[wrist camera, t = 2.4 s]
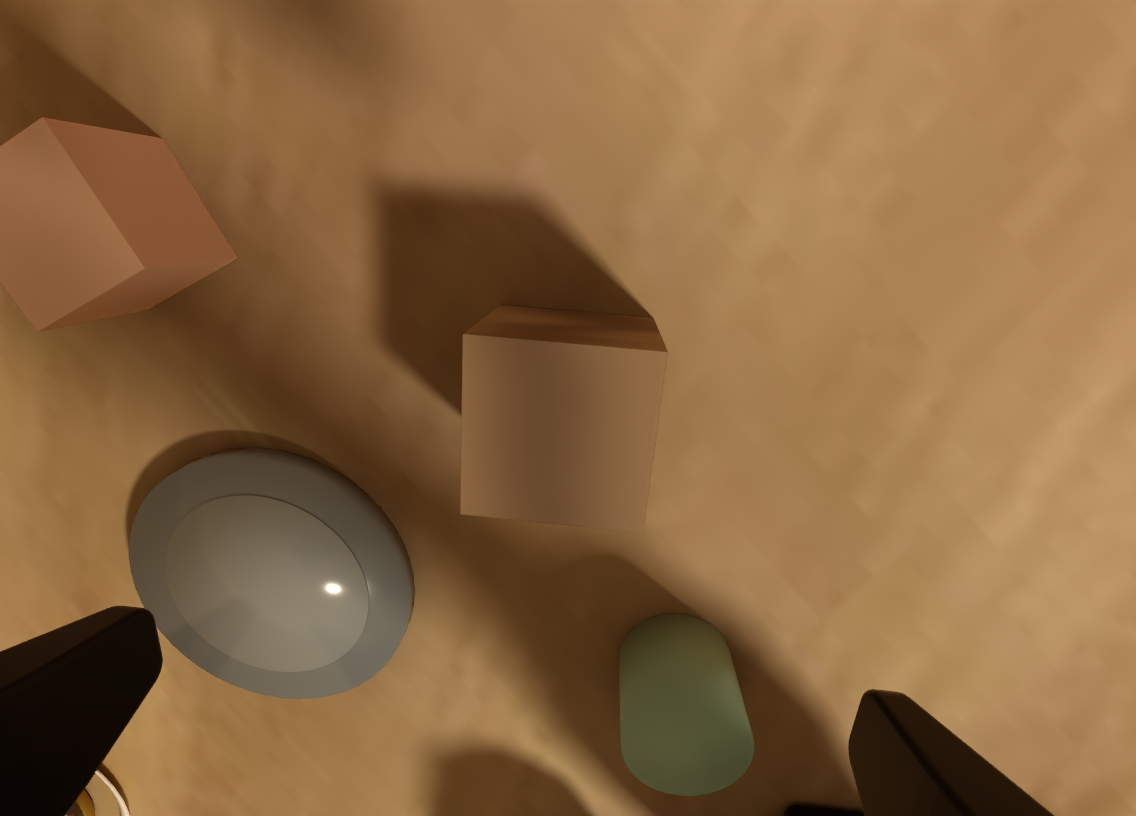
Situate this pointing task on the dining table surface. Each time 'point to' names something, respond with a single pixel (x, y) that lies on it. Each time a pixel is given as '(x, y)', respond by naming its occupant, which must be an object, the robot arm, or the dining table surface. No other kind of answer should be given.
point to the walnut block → (560, 416)
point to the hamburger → (84, 808)
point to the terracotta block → (98, 224)
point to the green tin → (682, 707)
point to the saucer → (272, 573)
